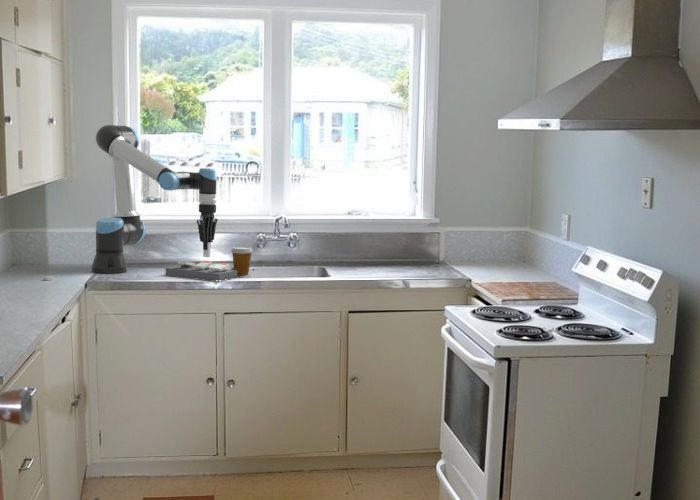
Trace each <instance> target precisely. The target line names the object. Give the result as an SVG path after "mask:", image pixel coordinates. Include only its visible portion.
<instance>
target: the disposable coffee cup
mask: <svg viewBox="0 0 700 500" xmlns="http://www.w3.org/2000/svg"><path fill="white" fill-rule="evenodd" d="M230 251H231V253H232V254H231V255H232V262H233V263H232V264H233V270H237V276H246V275H247V276H248V275H249V271H250V265H251V260H252V259H251V258H252V254H253V249H252V247H250V246H232V248H231V250H230Z"/></svg>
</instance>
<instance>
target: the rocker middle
mask: <svg viewBox="0 0 700 500" xmlns="http://www.w3.org/2000/svg"><path fill="white" fill-rule="evenodd" d="M212 265H213V261H209V260H207V261H206V260H203V261H201V262H200V263H197V264H195V269H205V268H207V267H210V266H212Z"/></svg>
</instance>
